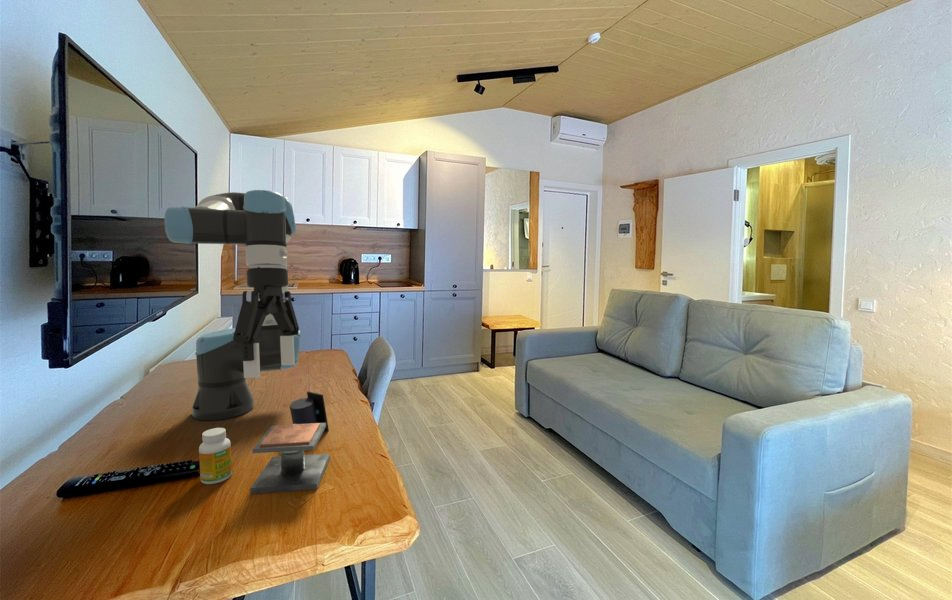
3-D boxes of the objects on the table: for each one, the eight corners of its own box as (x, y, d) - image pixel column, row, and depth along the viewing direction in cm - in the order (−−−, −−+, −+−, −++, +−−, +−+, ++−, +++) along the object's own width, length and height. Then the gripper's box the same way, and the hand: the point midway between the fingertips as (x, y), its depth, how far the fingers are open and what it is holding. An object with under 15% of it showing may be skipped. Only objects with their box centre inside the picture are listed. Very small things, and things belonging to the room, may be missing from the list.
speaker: (320, 423, 108) (315, 387, 106) (329, 431, 104) (324, 394, 102) (290, 434, 103) (285, 396, 101) (299, 443, 99) (293, 404, 96)
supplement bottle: (217, 486, 78) (214, 438, 77) (193, 483, 79) (190, 436, 78) (238, 472, 84) (236, 427, 83) (216, 469, 85) (213, 424, 84)
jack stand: (272, 462, 88) (270, 422, 87) (329, 458, 90) (328, 419, 89) (250, 494, 76) (248, 448, 75) (317, 489, 78) (315, 444, 77)
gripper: (249, 262, 70) (254, 383, 70) (312, 270, 95) (315, 360, 95) (207, 264, 70) (212, 384, 71) (280, 271, 95) (284, 361, 96)
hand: (271, 370), depth 83 cm, fingers open, 13 cm apart
